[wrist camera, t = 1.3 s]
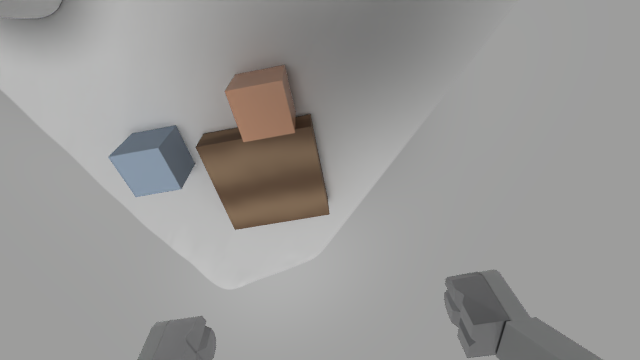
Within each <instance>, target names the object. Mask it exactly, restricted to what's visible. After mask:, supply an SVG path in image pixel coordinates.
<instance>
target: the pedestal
mask: <svg viewBox="0 0 640 360" xmlns="http://www.w3.org/2000/svg"><path fill="white" fill-rule="evenodd" d="M196 149H197V151H198V153H199V155H200V157H201V159H202V162H203V164H204V166H205V168H206V170H207V172H208V174H209V176H210V178H211V180H212V183H213V185H214V187H215V189H216V191H217V193H218V195H219V197H220V199H221V201H222V203H223V206H224V208H225V210H226V212H227V214H228V216H229V218H230V220H231V222H232V224H233V227H234V229H235V230H236V229H243V228H249V227H255V226H261V225H267V224H273V223H279V222H285V221H292V220H298V219H304V218H310V217H316V216H322V215H328V214H329V206H328V198H327V193H326V188H325V183H324V178H323V173H322V169H321V164H320V159H319V154H318V149H317V144H316V139H315V134H314V129H313V124H312V119H311V114H309V115H304V116H298V117H296V121H295V133H292V134H287V135H281V136H276V137H270V138H265V139H259V140H253V141H248V142H243V140H242V137H241V134H240V131H239V129H238V128H233V129H228V130H222V131H217V132H211V133H206V134H203V136H202V137H201V139H200V141H199V142H198V144H197V146H196Z"/></svg>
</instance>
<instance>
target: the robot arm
mask: <svg viewBox="0 0 640 360" xmlns="http://www.w3.org/2000/svg"><path fill="white" fill-rule="evenodd" d="M445 282H446V283H445V285H446V287H447V289H448V290H447V291H446V292H445V294H444V300H445V305H446V309H447V312H448V315H449V318H450V320H451V322H452V323H453V324H454V325H456V326H457V327H458V328H459V329H458V338H459V340H460V343H461V345H462V347H463V349H464V352H465V354H466V356H467V358H471V357H480V356H489V355H496V357H497V358H499V359H500V360H603V359H601V358H599V357H598V356H596V355H595V354H593V353H592V352H590V351H588V350H587V349H585V348H583V347H582V346H580V345H579V344H577V343H576V342H574V341H573V340H571V339H569V338H568V337H566V336H565V335H563V334H562V333H560V332H559V331H557V330H555V329H554V328H552V327H551V326H549V325H547V324H546V323H544V322H542V321H541V320H539V319H538V318H536V317H534V318H531V317H530V316H529V315H528V313H527V312H526V310H525V309H524V307H523V306H522V304H521V303H520V302H519V300H518V299H517V297H516V296H515V294H514V293H513V291H512V290H511V288H510V287H509V286H508V284H507V283H506V281H505V280H504V278H503V277H502V276H501V274H500V273H499V272H498V271H497V270H488V271H482V272H474V273H468V274H462V275H456V276H451V277H447V278H446V281H445ZM205 324H206V320H205V319H204V318H203V316H198V317H191V318H184V319H177V320H169V321H163V322H157V323H156V324H155V325H154V326H153V327H152V328H151V330H150V333H149V335H148V337H147V339H146V342H145V344H144V346H143V349H142V351H141V353H140V355H139V357H138V360H212V359H213V358H214V354H215V349H216V337H215V334H214V332H213V330H212V329H211V328H209V327H207V326H205Z"/></svg>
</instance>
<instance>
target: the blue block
mask: <svg viewBox="0 0 640 360" xmlns="http://www.w3.org/2000/svg"><path fill="white" fill-rule="evenodd" d="M109 159H110V160H111V162H112V163H113V165H114V166H115V168H116V169H117V171H118V172H119V173H120V175H121V176H122V178H123V179H124V181H125V182H126V184H127V185H128V186H129V188H130V189H131V191H132V192H133V194H134V195H135V197H139V196H145V195H150V194H156V193H162V192H168V191H174V190H179V189H182V187H183V185H184V183H185V181H186V180H187V178H188V176H189V174H190V172H191V170H192V168H193V167H194V165H195V163H194V161H193V159H192V157H191V155H190V153H189V151H188V149H187V147H186V145H185V143H184V141H183V139H182V137H181V135H180V133H179V131H178V129H177V127H176V126H170V127H165V128H160V129H154V130H149V131H143V132H138V133H133V134H131V135H130V136H129V137H128V138H127V139H126V140H125V141H124V142H123V143H122V144H121V145H120V146H119V147H118V148H117V149H116V150H115V151H114V152H113V153H112V154H111V155H110V156H109Z"/></svg>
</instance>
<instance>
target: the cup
mask: <svg viewBox="0 0 640 360" xmlns="http://www.w3.org/2000/svg"><path fill="white" fill-rule="evenodd" d="M61 2H62V0H0V18H17V19H30V18H43V17H46V16H49V15H51V14H52V13H53V12H55V11H56V10H57V9H58V8H59V6H60V4H61Z"/></svg>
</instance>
